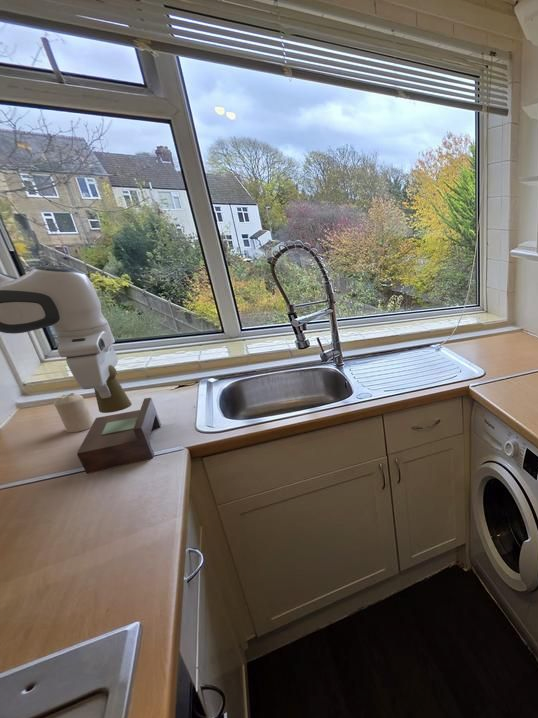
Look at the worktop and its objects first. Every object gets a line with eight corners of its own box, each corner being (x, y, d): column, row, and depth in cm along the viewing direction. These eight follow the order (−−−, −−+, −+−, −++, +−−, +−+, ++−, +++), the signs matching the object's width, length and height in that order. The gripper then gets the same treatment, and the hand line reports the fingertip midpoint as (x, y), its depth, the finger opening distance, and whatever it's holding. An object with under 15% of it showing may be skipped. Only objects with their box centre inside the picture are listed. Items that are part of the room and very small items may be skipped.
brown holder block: (86, 473, 93) (71, 442, 90) (103, 435, 108) (91, 407, 105) (153, 458, 100) (141, 428, 96) (161, 424, 115) (151, 397, 111)
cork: (130, 400, 105) (115, 360, 100) (132, 407, 101) (116, 366, 96) (98, 407, 101) (80, 365, 96) (99, 415, 97) (81, 372, 93)
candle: (92, 420, 116) (77, 388, 112) (97, 426, 113) (82, 394, 109) (64, 428, 112) (49, 395, 108) (69, 434, 109) (53, 401, 105)
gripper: (79, 329, 100) (100, 380, 105) (54, 352, 84) (81, 411, 90) (113, 326, 103) (132, 376, 109) (96, 347, 88) (119, 405, 93)
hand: (109, 392), depth 99 cm, fingers closed on cork, 4 cm apart
